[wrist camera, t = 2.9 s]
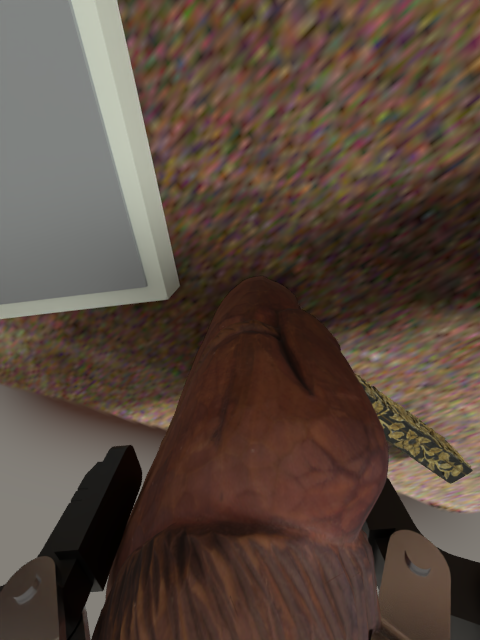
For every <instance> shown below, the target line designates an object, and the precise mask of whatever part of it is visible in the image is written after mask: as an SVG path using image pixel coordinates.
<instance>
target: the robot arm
mask: <svg viewBox="0 0 480 640" xmlns="http://www.w3.org/2000/svg"><path fill="white" fill-rule="evenodd" d="M141 482H142V470H141V467H140V464H139V461H138V459H137V456H136V453H135V451H134V448H133V446H131V445H126V446H116V447H115V446H114V447H112V448H111V449H110V450H109V451H108V453H107V455H106V457H105V459H104V461H103V462H97V464H96V465H95V466H94V467H93V468H92V469H91V470H90V471H89V472H88V473H87V474H86V475H85V477H84V479H83V480H82V482H81V484H80V486H79V487H78V491H76V492H75V494H74V496H73V498H72V499H71V503H69V505H68V506H67V508H66V510H65V511H64V513H63V515H62V516H61V518H60V520H59V522H58V523H57V525H56V527H55V528H54V530H53V532H52V534H51V535H50V537H49V539H48V541H47V542H46V544H45V546H44V548H43V549H42V551H41V552H40V554H39V555H38V557H37V558H35V559H33V560H31V561H29V562H28V563H26V564H25V565H23V566H22V567H21V568H20V569H19V570H18V571H16V573H15V574H14V575H13V576H12V577H11V578H10V579H9V580H8V582H7V583H6V584H5V585H3V586H0V640H90V634H89V626H88V619H87V612H86V608H85V604H86V601H87V599H88V596H89V594H90V592H98V591H103V590H104V587H105V584H106V582H107V579H108V576H109V573H110V570H111V568H112V565H113V562H114V559H115V556H116V554H117V551H118V548H119V545H120V542H121V539H122V536H123V533H124V531H125V528H126V526H127V523H128V520H129V517H130V514H131V512H132V509H133V506H134V503H135V500H136V497H137V495H138V492H139V489H140V486H141ZM362 529H363V531H364V532H365V533H366V534H367V538H368V542H369V544H370V545H371V547H372V552H373V556H374V568H375V574H376V579H377V586H378V589H379V594H378V600H379V607H380V613H381V627H380V628H378V629H377V628H375V630H374V629H373V631H372V636H371V640H480V563H478V562H475V561H471V560H468V559H464V558H461V557H457V556H454V555H451V554H448V553H447V552H445V551H442V550H441V549H439V548H437V547H436V546H435V545H434V544H433V543H432V542H431V541H429V540H428V539H427V538H425V537H424V536H423V535H422V534H421V533H420V531H419V530H418V529H417V527H416V526H415V524H414V523H413V521H412V519H411V517H410V516H409V514H408V512H407V510H406V509H405V507H404V505H403V503H402V501H401V500H400V498H399V496H398V495H397V493H396V491H395V489H394V487H393V486H392V484H391V482H390V480H389V479H388V478H386V482H385V485H384V487H383V490H382V492H381V494H380V495H379V497H378V499H377V501H376V503H375V505H374V506H373V508H372V510H371V512H370V514H369V515H368V517H367V519H366V521H365V522H364V524H363V526H362Z"/></svg>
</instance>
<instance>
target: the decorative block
mask: <svg viewBox="0 0 480 640" xmlns="http://www.w3.org/2000/svg"><path fill="white" fill-rule="evenodd" d="M354 374H355V373H354ZM355 375H356V374H355ZM356 377H357V378H358V380H359V382H360V383H361V385H362V386H363V388H364V390H365V392H366V394H367V396H368V398H369V400H370V402H371V404H372V406H373V408H374V410H375V412H376V414H377V416H378V418H379V420H380V422H381V424H382V427H383V430H384V434H385V438H386V441H388V442H389V443H391V444H392V445H394V446H395V447H397V448H398V449H400V450H401V451H403V452H404V453H405V454H407V455H408V456H410V457H411V458H413V459H414V460H416V461H417V462H419V463H420V464H422V465H423V466H425V467H426V468H428V469H429V470H431V471H432V472H434V473H435V474H437V475H438V476H439V477H441V478H442V479H444V480H445V481H447V482H448V483H450V484H451V483H453V482H455V481H457V480H459V479H460V478H462V477H464V476H465V474H469V473H470V472H472V471H473V470H472V469H471V468H470V467H471V466H470V465H469V464H468V463H467V462H465V461H464V459H463V457H462V456H461V455H459V453H458V452H457V451H456V450H455V449H454V448H453V447H452V446H451V445H450V444H449V443H448V442H447V441H446V440H445V438H444V437H442V436H441V435H439V434H438V433H435V432H434V430H433V429H432V428H429V427H428V426H427V425H426V424H424V423H423V422H421V421H420V420H418V418H417V417H416V416H414V415H412V414H411V413H410V412H409V411H405V409H404V408H403V407H402V406H400V405H399V404H397V403H395V402H393V401H392V400H391V399H390V398H388V397H387V396H385V395H384V394H383V393H381V392H379V391H378V390H377V389H376V388H375V387H374V386H373V387H372V386H371V385H370V384H369V383H367V382H366V380H364V379H362V378H361V377H360V376H357V375H356Z"/></svg>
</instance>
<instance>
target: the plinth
mask: <svg viewBox="0 0 480 640" xmlns="http://www.w3.org/2000/svg"><path fill="white" fill-rule="evenodd" d="M179 286H180V284H179V279H178V275H177V270H176V266H175V261H174V257H173V252H172V248H171V243H170V239H169V234H168V230H167V225H166V221H165V216H164V212H163V207H162V202H161V198H160V193H159V189H158V184H157V180H156V175H155V171H154V166H153V162H152V157H151V153H150V148H149V144H148V139H147V135H146V130H145V126H144V121H143V117H142V112H141V107H140V103H139V98H138V94H137V89H136V85H135V80H134V76H133V71H132V67H131V62H130V58H129V53H128V49H127V44H126V40H125V35H124V31H123V26H122V22H121V17H120V12H119V8H118V3H117V0H0V319H5V318H14V317H22V316H31V315H39V314H48V313H56V312H65V311H73V310H82V309H91V308H99V307H108V306H116V305H125V304H133V303H142V302H150V301H159V300H167V299H169V298H170V297H171V295H172V294H173V293H174V292H175V291H176V290H177V289H178V288H179Z"/></svg>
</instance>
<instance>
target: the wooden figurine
mask: <svg viewBox="0 0 480 640" xmlns="http://www.w3.org/2000/svg"><path fill="white" fill-rule="evenodd" d="M340 351H341V349H340V346H339V344H338V342H337V340H336V339H335V338H334V336H333V335H332V334H331V333H330V332H329V330H328V329H327V328H326V327H325V326H324V325H323V324H322V323H321V322H320V321H319V320H317V319H316V318H315V317H314V316H312V315H311V314H309V313H307V312H305V311H303V310H301V309H300V306H299V304H298V301H297V298H296V296H295V295H293V294H292V292H291V291H290V290H289V289H288V288H286V287H284V286H282V285H281V284H279V283H277V282H274V281H271V280H269V279H268V278H266V277H264V276H258V277H251V278H248V279H246V280H244V281H242V282H241V283H240V284H238V285H237V286H236V287H235V288H234V289H233V290H232V291H230V292H229V294H228V295H227V296H226V297H225V298H224V299H223V301H222V302H221V304H220V306H219V307H218V309H217V311H216V313H215V315H214V317H213V319H212V321H211V324H210V326H209V328H208V331H207V333H206V335H205V338H204V340H203V342H202V344H201V346H200V348H199V350H198V353H197V355H196V357H195V360H194V363H193V365H192V368H191V371H190V373H189V376H188V378H187V380H186V383H185V386H184V388H183V391H182V394H181V396H180V399H179V402H178V405H177V408H176V411H175V414H174V416H173V418H172V420H171V423H170V425H169V428H168V430H167V432H166V435H165V437H164V438H163V440H162V442H161V445H160V448H159V451H158V453H157V455H156V457H155V459H154V461H153V464H152V466H151V468H150V470H149V472H148V474H147V476H146V479H145V481H144V484H143V487H142V489H141V492H140V494H139V496H138V499H137V501H136V503H135V505H134V507H133V510H132V512H131V515H130V517H129V520H128V523H127V526H126V528H125V531H124V533H123V536H122V539H121V542H120V545H119V548H118V551H117V554H116V556H115V559H114V562H113V565H112V568H111V570H110V573H109V578H108V583H107V589H106V601H105V604H104V607H103V609H102V610H101V614H100V616H99V619H98V622H97V624H96V627H95V630H94V633H93V636H92V639H91V640H371V636H372V631H373V629H374V630H375V628H377V629H378V628H380V627H381V613H380V607H379V600H378V595H377V590H376V589H377V579H376V574H375V568H374V556H373V552H372V547H371V545H370V544H369V542H368V538H367V534H366V533H365V532H364V531H363V529H362V526H363V524H364V522H365V521H366V519H367V517H368V515H369V514H370V512H371V510H372V508H373V506H374V505H375V503H376V501H377V499H378V497H379V495H380V494H381V492H382V490H383V487H384V485H385V482H386V478H387V472H388V461H389V457H388V446H387V442H386V438H385V434H384V430H383V427H382V424H381V422H380V420H379V418H378V416H377V414H376V412H375V410H374V408H373V406H372V404H371V402H370V400H369V398H368V396H367V394H366V392H365V390H364V388H363V386H362V385H361V383H360V382H359V380H358V378H357V377H356V375H355V374H354V372H353V370H352V369H351V367H350V365H349V363H348V362H347V360H346V359H345V357H344V356H343V354H342V353H341V352H340Z"/></svg>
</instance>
